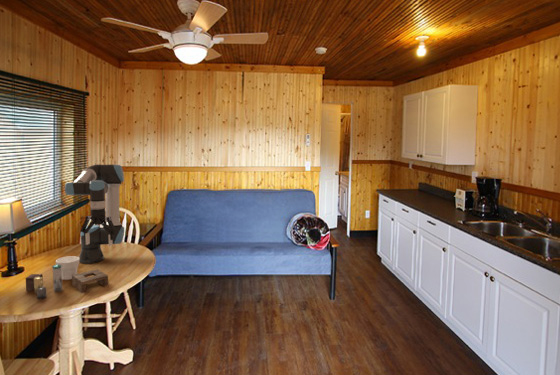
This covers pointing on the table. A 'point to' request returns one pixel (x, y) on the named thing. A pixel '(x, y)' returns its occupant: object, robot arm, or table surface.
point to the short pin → (41, 293)
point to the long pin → (57, 278)
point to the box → (31, 281)
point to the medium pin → (38, 283)
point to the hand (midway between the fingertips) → (99, 244)
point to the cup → (68, 266)
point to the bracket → (89, 279)
